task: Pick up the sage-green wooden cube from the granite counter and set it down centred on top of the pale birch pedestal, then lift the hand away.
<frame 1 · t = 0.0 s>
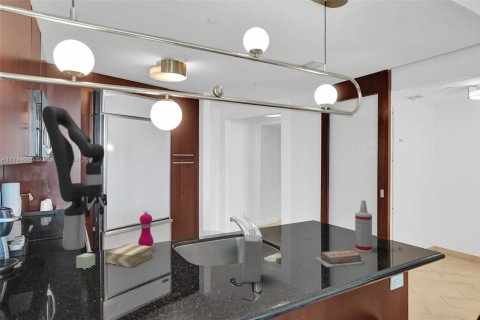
hand: (94, 216, 150), 17 cm above the countertop, tool pointing down, fingers open, 8 cm apart
pedestal: (129, 260, 135), on the countertop
spray bottle: (363, 250, 151), on the countertop
skincare box: (251, 278, 114), on the countertop
soap bar on dish: (339, 263, 133), on the countertop
cube: (85, 267, 127), on the countertop
pepper mill: (145, 251, 149), on the countertop
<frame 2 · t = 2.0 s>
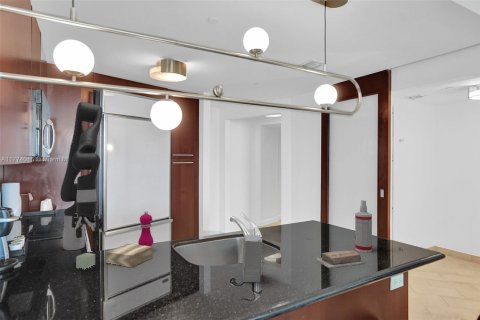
hand: (86, 238, 127), 12 cm above the countertop, tool pointing down, fingers open, 8 cm apart
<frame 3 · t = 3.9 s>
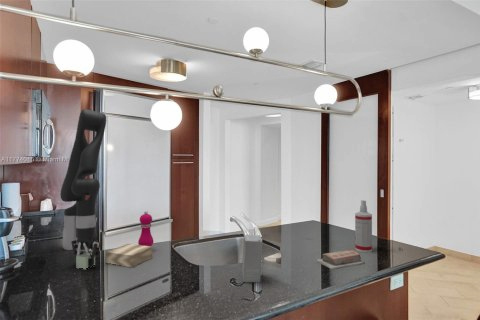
hand: (85, 265, 127), 0 cm above the countertop, tool pointing down, fingers closed on cube, 5 cm apart
cube: (85, 266, 127), on the countertop, touching gripper
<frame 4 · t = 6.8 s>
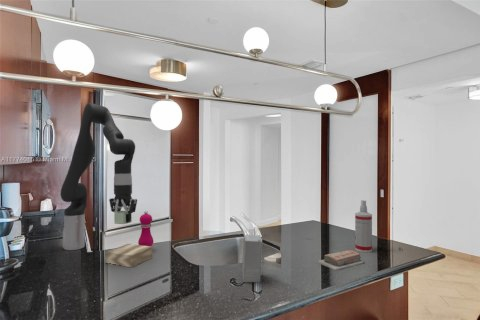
hand: (123, 221, 133), 18 cm above the countertop, tool pointing down, fingers closed on cube, 5 cm apart
cube: (123, 222, 133), point 17 cm above the countertop, touching gripper
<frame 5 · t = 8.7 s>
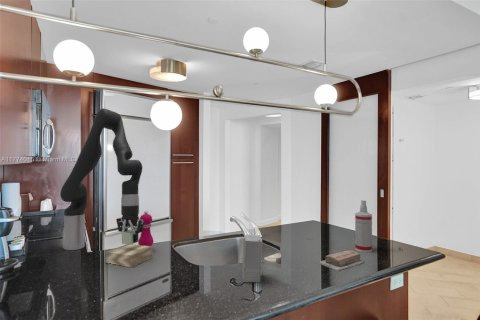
hand: (130, 241, 135), 8 cm above the countertop, tool pointing down, fingers closed on cube, 5 cm apart
cube: (130, 242, 135), point 8 cm above the countertop, touching gripper
when the fingers open (7 cm above the countertop, at t = 9.9 s): cube drops 1 cm, resting on pedestal.
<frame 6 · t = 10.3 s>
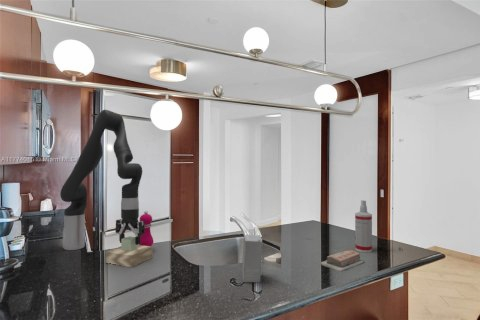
hand: (129, 243, 135), 8 cm above the countertop, tool pointing down, fingers open, 8 cm apart
cube: (129, 249, 135), point 5 cm above the countertop, touching pedestal
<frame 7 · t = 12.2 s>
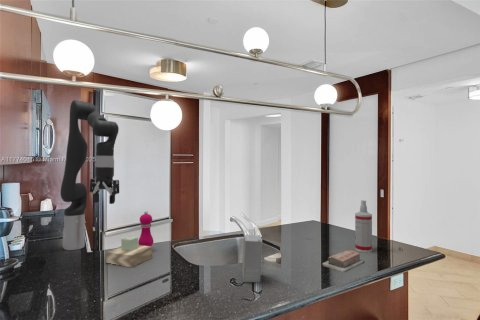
hand: (104, 202, 132), 26 cm above the countertop, tool pointing down, fingers open, 8 cm apart
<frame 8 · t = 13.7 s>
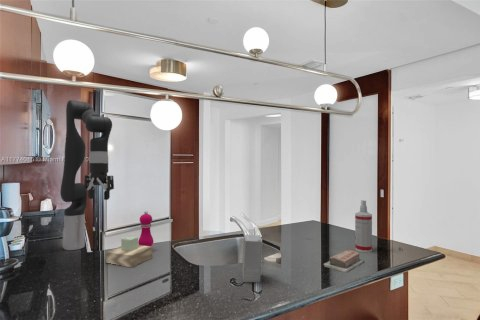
hand: (98, 199, 131), 28 cm above the countertop, tool pointing down, fingers open, 8 cm apart
at the end: cube inside the target area on the pedestal (0.1 cm from its centre), point 5.0 cm above the pedestal's base; cube tilted 0°; the gripper is holding nothing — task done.
